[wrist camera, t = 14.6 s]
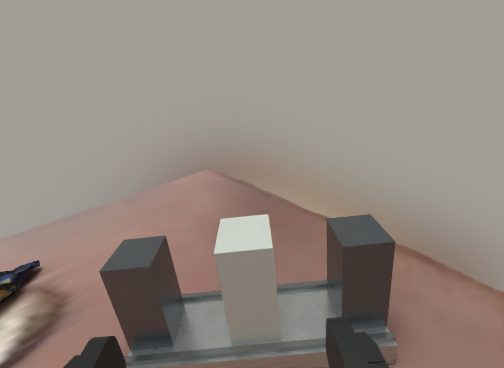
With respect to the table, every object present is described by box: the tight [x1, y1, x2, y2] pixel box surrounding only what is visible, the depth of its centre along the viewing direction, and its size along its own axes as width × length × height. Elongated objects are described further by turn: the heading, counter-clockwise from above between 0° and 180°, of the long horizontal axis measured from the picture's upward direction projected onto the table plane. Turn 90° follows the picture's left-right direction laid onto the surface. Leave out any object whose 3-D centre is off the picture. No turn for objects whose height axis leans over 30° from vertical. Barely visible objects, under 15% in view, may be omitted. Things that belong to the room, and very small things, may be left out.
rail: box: [99, 214, 397, 368], centre depth 28 cm, size 26×9×12 cm, turn 91°
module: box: [214, 214, 282, 346], centre depth 27 cm, size 5×6×11 cm
